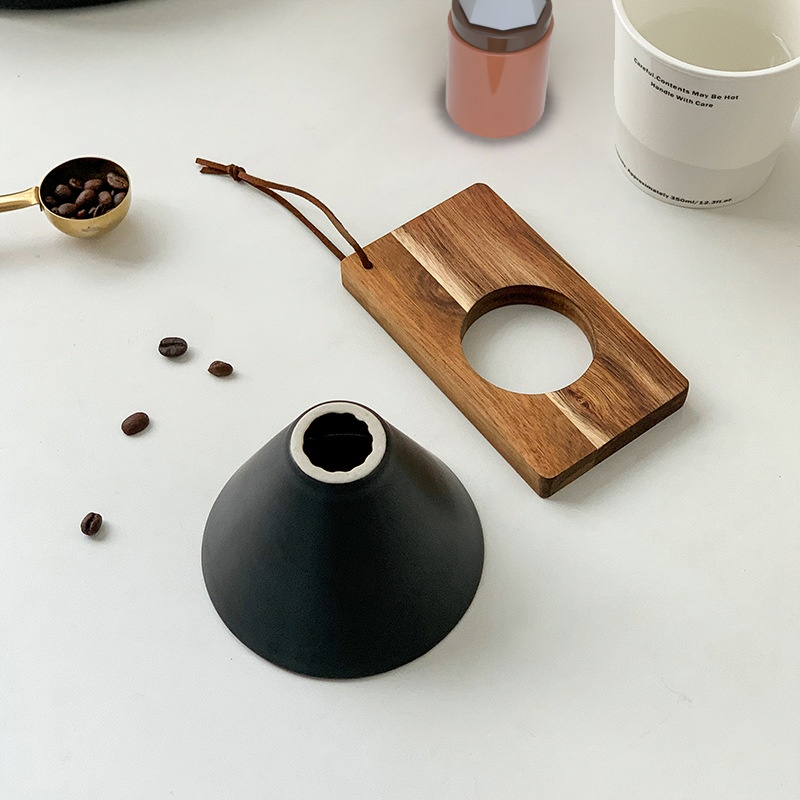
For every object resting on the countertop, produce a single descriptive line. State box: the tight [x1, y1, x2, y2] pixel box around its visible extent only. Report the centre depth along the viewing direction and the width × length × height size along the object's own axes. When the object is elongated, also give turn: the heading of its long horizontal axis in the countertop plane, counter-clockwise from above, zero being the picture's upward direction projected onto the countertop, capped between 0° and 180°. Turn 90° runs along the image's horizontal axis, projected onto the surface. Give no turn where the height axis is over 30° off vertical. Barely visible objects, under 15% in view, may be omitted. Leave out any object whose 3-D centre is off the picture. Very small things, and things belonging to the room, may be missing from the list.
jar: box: [445, 0, 555, 139], centre depth 104 cm, size 9×9×12 cm
